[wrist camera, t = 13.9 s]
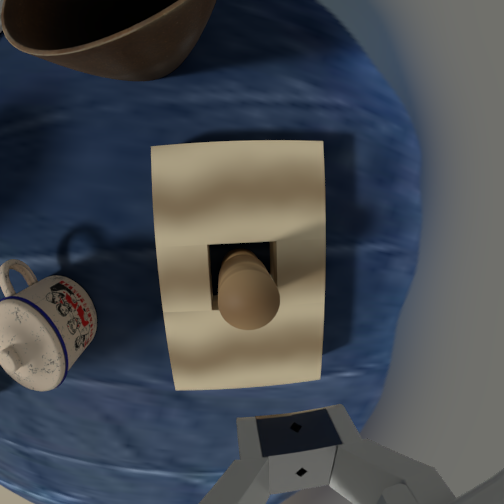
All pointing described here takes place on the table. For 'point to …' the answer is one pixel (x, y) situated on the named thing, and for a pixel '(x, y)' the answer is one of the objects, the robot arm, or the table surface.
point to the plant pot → (108, 34)
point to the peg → (246, 291)
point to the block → (241, 231)
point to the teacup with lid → (43, 327)
